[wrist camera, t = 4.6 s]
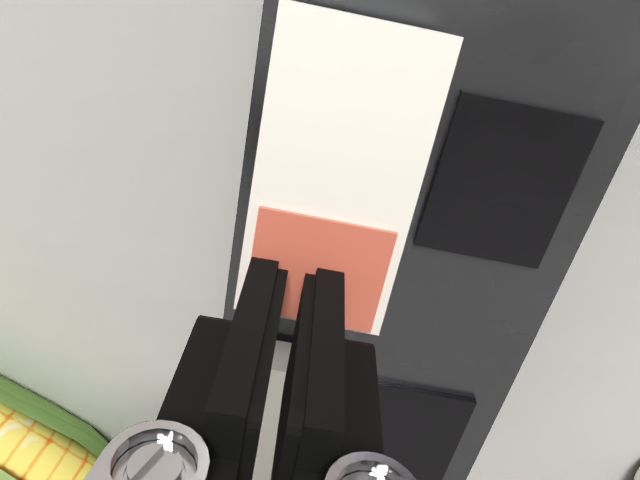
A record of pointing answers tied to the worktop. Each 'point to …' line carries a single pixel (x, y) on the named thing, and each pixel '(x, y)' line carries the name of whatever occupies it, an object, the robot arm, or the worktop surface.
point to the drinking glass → (637, 474)
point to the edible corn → (43, 438)
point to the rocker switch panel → (485, 205)
